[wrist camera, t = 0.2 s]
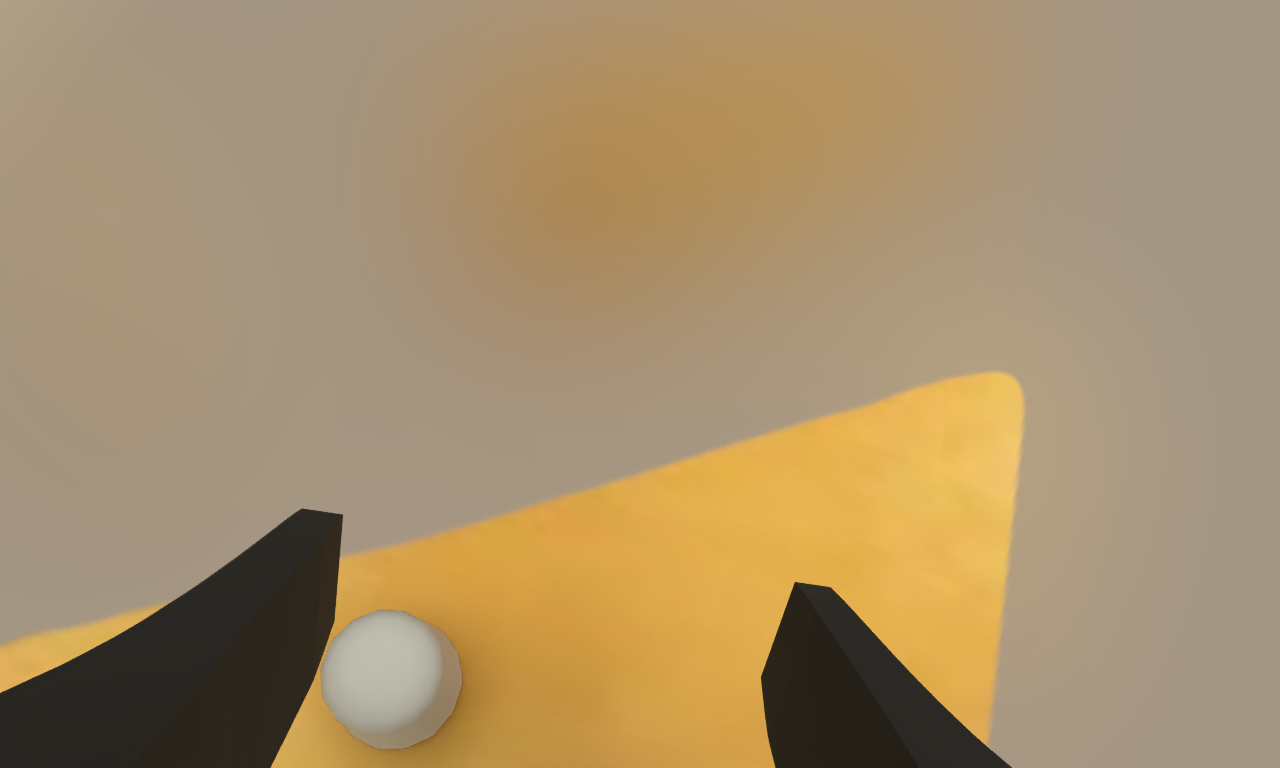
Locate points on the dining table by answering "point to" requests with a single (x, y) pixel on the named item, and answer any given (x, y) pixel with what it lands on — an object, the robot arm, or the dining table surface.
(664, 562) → the dining table surface
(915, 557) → the dining table surface
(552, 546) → the dining table surface
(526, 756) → the dining table surface
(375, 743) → the salt shaker
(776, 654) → the robot arm
